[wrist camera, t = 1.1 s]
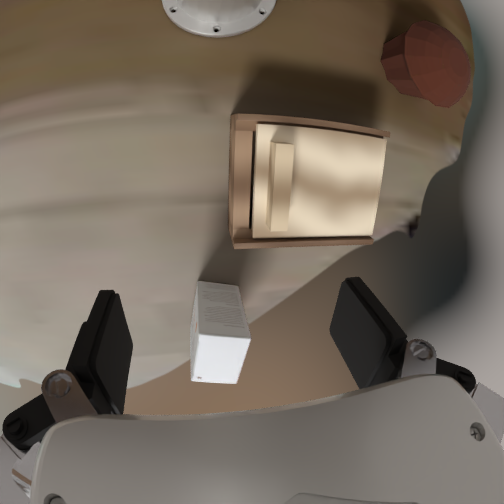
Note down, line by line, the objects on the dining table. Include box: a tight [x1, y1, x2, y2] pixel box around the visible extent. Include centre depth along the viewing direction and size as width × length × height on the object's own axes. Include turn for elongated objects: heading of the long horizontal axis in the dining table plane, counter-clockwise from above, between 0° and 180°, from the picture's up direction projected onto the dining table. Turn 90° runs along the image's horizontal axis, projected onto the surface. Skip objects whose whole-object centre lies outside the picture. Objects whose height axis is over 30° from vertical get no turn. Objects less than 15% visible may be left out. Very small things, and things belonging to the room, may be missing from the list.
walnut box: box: [228, 114, 390, 249], centre depth 29 cm, size 13×16×6 cm
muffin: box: [381, 20, 471, 108], centre depth 23 cm, size 12×11×10 cm
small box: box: [190, 281, 251, 383], centre depth 34 cm, size 8×6×10 cm
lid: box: [251, 124, 387, 238], centre depth 27 cm, size 11×14×3 cm
